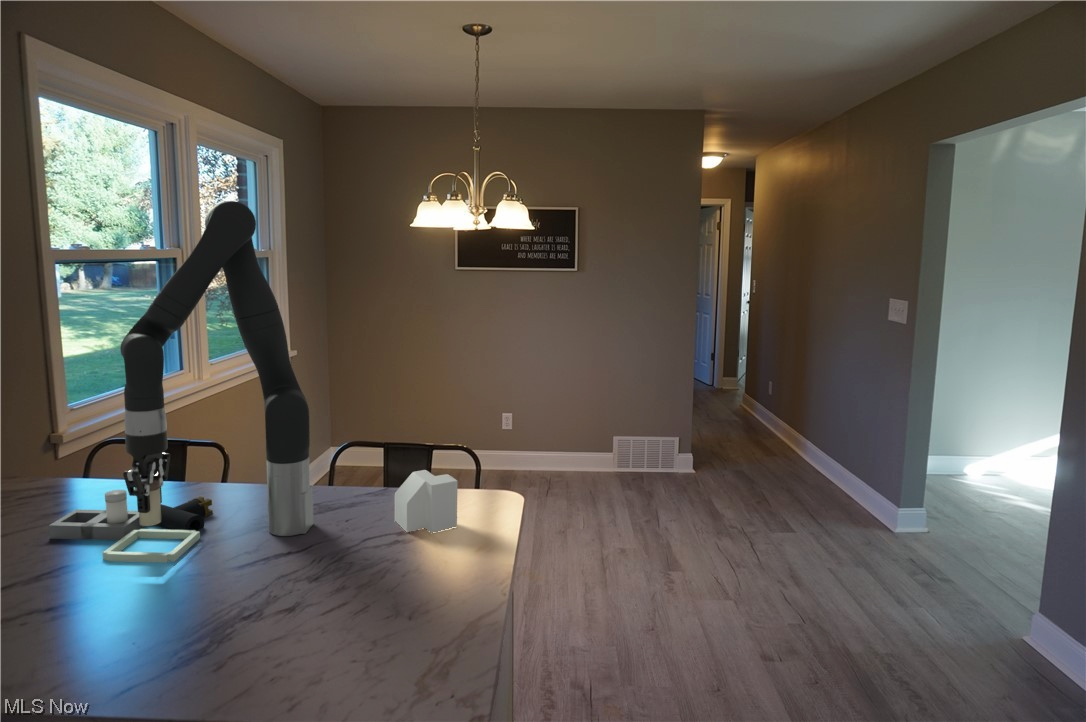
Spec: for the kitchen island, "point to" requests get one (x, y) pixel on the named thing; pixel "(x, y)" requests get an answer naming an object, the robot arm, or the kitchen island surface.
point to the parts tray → (116, 555)
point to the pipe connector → (185, 515)
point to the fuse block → (92, 526)
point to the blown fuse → (152, 506)
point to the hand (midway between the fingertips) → (150, 507)
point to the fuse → (116, 506)
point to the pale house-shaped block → (427, 502)
